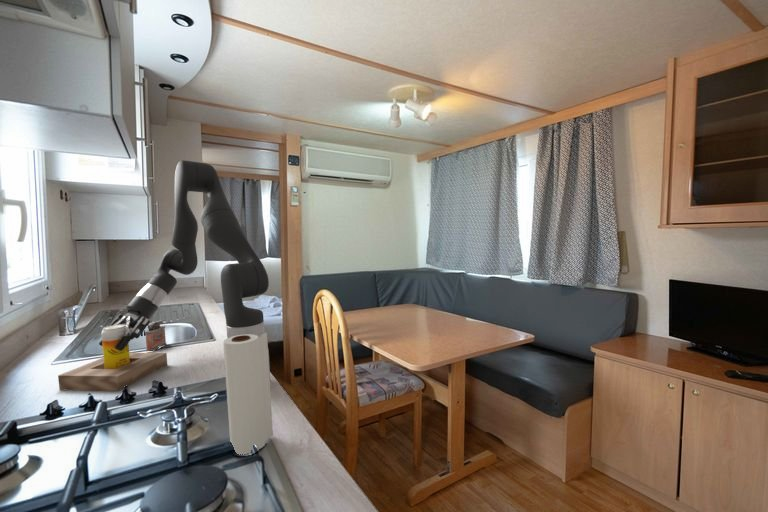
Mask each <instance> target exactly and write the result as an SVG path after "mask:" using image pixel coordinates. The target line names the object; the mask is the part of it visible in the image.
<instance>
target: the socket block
mask: <svg viewBox="0 0 768 512" xmlns="http://www.w3.org/2000/svg"><path fill="white" fill-rule="evenodd" d="M129 355H130V363H129V364H127V365H125V366H123V367H121V368H118V369H105V368H104V357H101V358H99V359H96V360H94V361H91V362H89V363H87V364H84V365H81V366H78V367H76V368H74V369H71V370H68V371H67V372H63V373H61V374H58V375H57V377H58V379H57V381H58V388H59V389H66V390H65V391H69V390H70V391H106V392H107V391H109V392H110V391H112V392H118V391H119V392H120V391H121V390H123V389H125V388H124V386H126V385H127V387H129V386H131V385H133V384H134V383H137V382H138V381H140V380H142V379H145V378H146V377H148V376H150V375H152V374H154V373H155V372H157V371H159V370H161V369H164V368H165V367H167V366H168V356H167V352H129Z"/></svg>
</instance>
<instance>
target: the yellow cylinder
mask: <svg viewBox="0 0 768 512" xmlns="http://www.w3.org/2000/svg"><path fill="white" fill-rule="evenodd" d="M125 331H126V330H125V325H112V326H108V325H107V326H104V327H102V330H101V332H100V335H101V340H102V346H103V347H102V346H101V347H102V356H103V357H102V358H104V368H105V369H118V368H121V367H123V366H125V365H127V364H129V363H130V355H129V353H130V347H129V343H130V342H129V343H128V344H127V345H126V346H125V348H124V349H123V350H122V351H119V350H117V349H115V348H114V347H115V345H116V344H117V343H118V342H119V340H120V339H121V338H122V337H123V336H124V334H125Z"/></svg>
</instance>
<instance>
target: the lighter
mask: <svg viewBox="0 0 768 512" xmlns="http://www.w3.org/2000/svg"><path fill="white" fill-rule="evenodd" d="M162 324H163V320H161V319H160V320H157V321H152V322H151V321H150V323H149V324H148V326H147V329H145V330H144V334H145V345H146V349H145V351H153V350H156V349H158V348H159V347H158V346H163V345H167V341H166V325H162ZM158 350H159V349H158ZM156 351H157V350H156ZM153 352H154V351H153Z"/></svg>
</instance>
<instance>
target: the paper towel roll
mask: <svg viewBox="0 0 768 512" xmlns="http://www.w3.org/2000/svg"><path fill="white" fill-rule="evenodd" d="M222 342H223V343H222V344H223V356H224V369H225V370H224V371H225V386H226V401H227V414H228V415H227V416H228V431H229V432H228V433H229V443H230V442H231V443H232V445H233V447H234V450H235V452H236V453H237V454H239V455H240V454H241V455H242V454H243V455H244V454H247V453H250V452H251V450H252V447H253V445H254V444H255V445H256V446H257V447H260V446H261V445H262V444H263V443H264V442H265V441H266V440H267V439H268V438H270V439H271V437H272V436H274V433H273V432H274V431H273V429H274V428H273V414H272V397H271V395H272V394H271V376H270V377H269V367H270V359H269V360H268V350H269V347H268V343H269V342H268V332H264V334H263V335H261V336H260V337H259V338H258V336H257V335H252V334H244V335H237V336H233V337H230V338H227V337H226V339H224V340H223V341H222Z"/></svg>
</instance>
